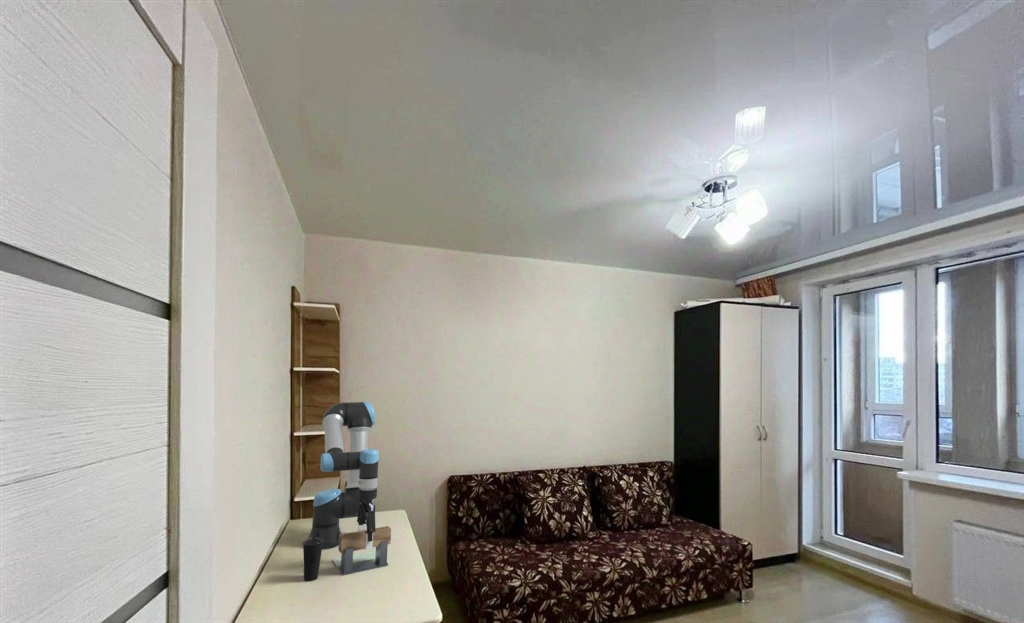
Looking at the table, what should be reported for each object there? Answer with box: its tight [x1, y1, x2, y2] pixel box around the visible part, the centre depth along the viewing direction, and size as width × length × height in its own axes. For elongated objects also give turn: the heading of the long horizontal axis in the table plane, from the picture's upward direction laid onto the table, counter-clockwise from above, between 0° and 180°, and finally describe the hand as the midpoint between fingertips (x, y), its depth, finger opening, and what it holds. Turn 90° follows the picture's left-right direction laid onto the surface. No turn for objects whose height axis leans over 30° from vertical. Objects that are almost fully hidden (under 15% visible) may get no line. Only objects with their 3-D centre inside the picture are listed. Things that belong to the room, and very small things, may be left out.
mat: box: [331, 550, 376, 569], centre depth 201 cm, size 9×18×1 cm, turn 124°
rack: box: [338, 541, 389, 576], centre depth 193 cm, size 6×18×10 cm, turn 124°
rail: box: [338, 525, 392, 554], centre depth 194 cm, size 4×20×6 cm, turn 124°
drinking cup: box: [302, 524, 324, 582], centre depth 183 cm, size 8×8×20 cm
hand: (365, 545), depth 194 cm, fingers open, 9 cm apart
